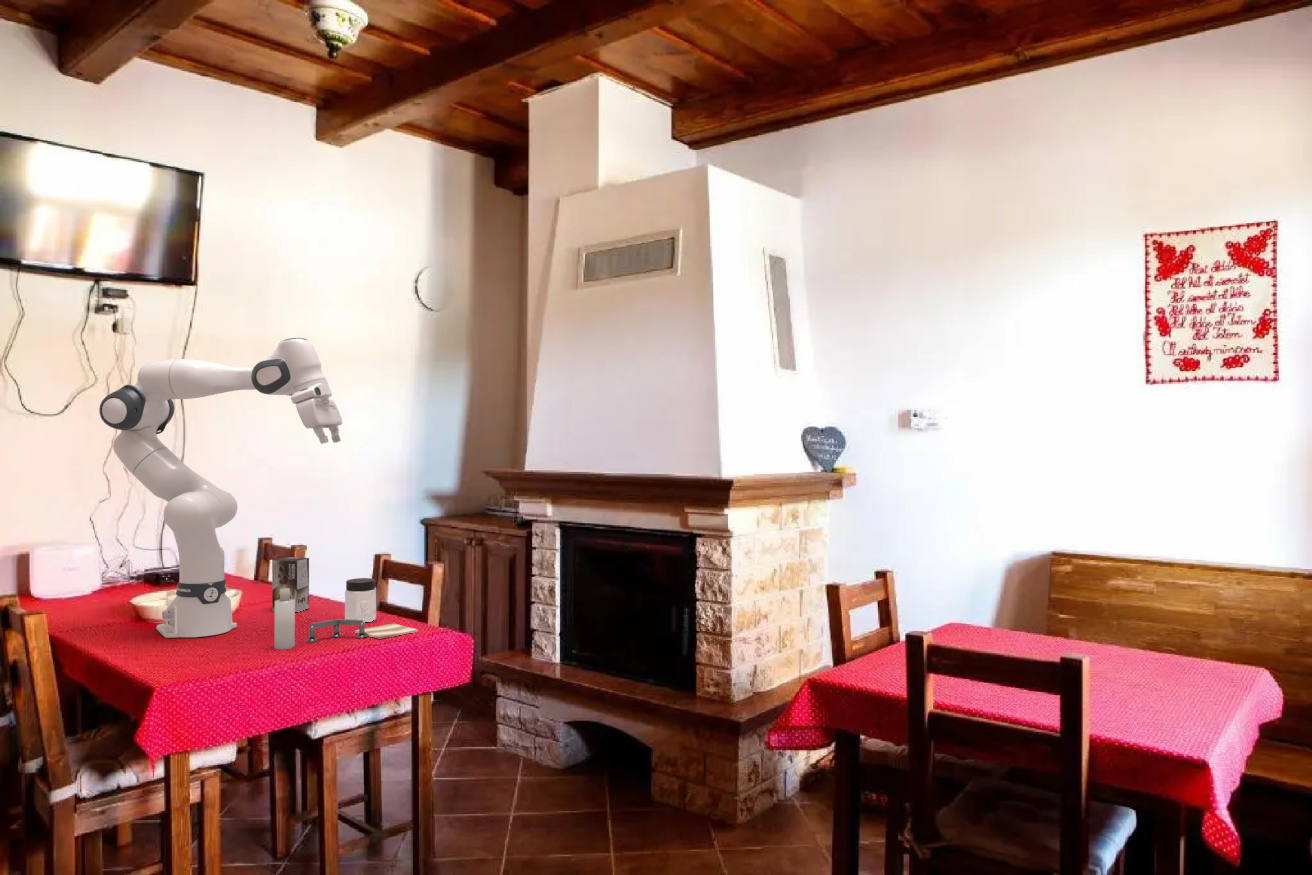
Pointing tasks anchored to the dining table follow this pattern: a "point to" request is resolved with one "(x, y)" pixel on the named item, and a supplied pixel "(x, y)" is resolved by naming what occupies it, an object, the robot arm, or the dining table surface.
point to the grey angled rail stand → (336, 628)
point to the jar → (360, 599)
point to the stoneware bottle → (284, 620)
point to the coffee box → (291, 580)
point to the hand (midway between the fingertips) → (331, 442)
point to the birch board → (387, 631)
